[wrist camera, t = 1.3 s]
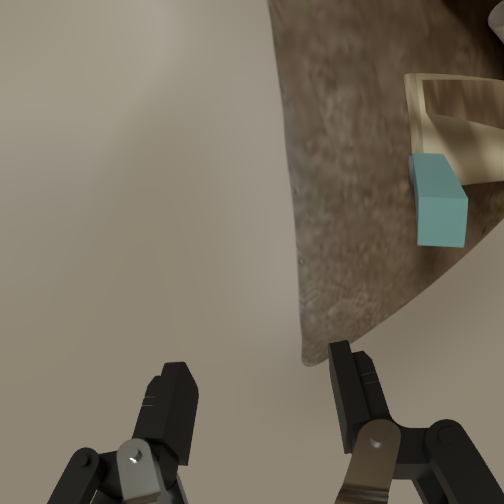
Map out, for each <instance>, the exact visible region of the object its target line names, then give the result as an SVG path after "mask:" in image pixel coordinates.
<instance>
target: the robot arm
mask: <svg viewBox="0 0 504 504" xmlns="http://www.w3.org/2000/svg"><path fill="white" fill-rule="evenodd" d="M328 350H329V368H330V377H331V383H332V388H333V393H334V398H335V403H336V409H337V413H338V419H339V424H340V430H341V436H342V441H343V447H344V453H345V454H348V453H351V454H352V457H351V461H350V464H349V467H348V470H347V473H346V476H345V479H344V482H343V485H342V487H341V489H340V491H339V493H338V496H337V498H336V501H335V503H334V504H387V503H388V497H389V496H388V493H389V489H390V485H391V481H392V479H411V480H412V482H413V484H414V486H415V488H416V490H417V492H418V494H419V496H420V498H421V500H422V502H423V504H504V493H503V492H502V490H501V488H500V486H499V484H498V483H497V481H496V479H495V478H494V476H493V474H492V473H491V471H490V470H489V468H488V466H487V465H486V463H485V461H484V460H483V458H482V457H481V455H480V453H479V452H478V450H477V449H476V447H475V446H474V444H473V443H472V441H471V439H470V438H469V436H468V435H467V433H466V432H465V430H464V429H463V427H462V426H461V425H460V424H459V423H458V422H456V421H454V420H449V419H444V420H440V421H437V422H435V423H434V424H433V425H431V426H430V428H407V427H403V426H401V425H399V424H397V423H396V422H395V421H394V420H393V419H392V417H391V415H390V413H389V410H388V406H387V403H386V400H385V397H384V394H383V391H382V388H381V385H380V382H379V379H378V376H377V373H376V370H375V367H374V364H373V361H372V359H371V358H370V357H369V356H368V355H367V354H366V353H365V352H364V351H359V352H355V353H352V352H351V349H350V345H349V342H348V340H344V341H339V342H334V343H329V344H328ZM198 398H199V393H198V387H197V385H196V382H195V380H194V379H193V377H192V375H191V373H190V371H189V369H188V367H187V365H186V363H185V362H169V363H165V364H164V366H163V370H162V373H161V376H155V377H154V378H153V380H152V381H151V382H150V384H149V385H148V387H147V390H146V393H145V398H144V400H143V403H142V407H141V409H140V413H139V416H138V419H137V423H136V426H135V430H134V433H133V436H132V439H130V440H127V441H126V442H124V443H123V444H122V445H121V446H120V447H119V449H118V450H117V451H113V452H108V453H102V454H98V453H97V452H96V451H95V450H93V449H91V448H87V447H86V448H81V449H79V450H77V451H76V452H75V453H74V454H73V456H72V457H71V459H70V461H69V463H68V465H67V467H66V469H65V470H64V472H63V474H62V476H61V478H60V480H59V482H58V484H57V485H56V487H55V489H54V491H53V493H52V495H51V497H50V499H49V501H48V503H47V504H90V502H91V500H92V498H93V496H94V494H95V492H96V490H97V492H96V494H95V496H94V498H93V501H92V503H91V504H188V501H187V498H186V495H185V492H184V489H183V486H182V483H181V480H180V477H179V475H178V473H177V470H178V465H184V466H187V465H188V460H189V454H190V448H191V441H192V435H193V428H194V422H195V416H196V410H197V404H198Z"/></svg>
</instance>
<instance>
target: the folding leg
mask: <svg viewBox="0 0 504 504" xmlns="http://www.w3.org/2000/svg"><path fill="white" fill-rule="evenodd" d="M408 166H409V184H410V185H414V195H415V207H416V222H417V245H425V246H446V247H464V242H465V233H466V222H467V210H468V198H467V196H466V194H465V192H464V190H463V188H462V186H461V184H460V182H459V180H458V179H457V177H456V175H455V173H454V171H453V170H452V168H451V166H450V164H449V163H448V161H447V159H446V157H445V156H444V154H434V153H412V154H411V155H408Z"/></svg>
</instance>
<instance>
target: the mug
mask: <svg viewBox="0 0 504 504" xmlns="http://www.w3.org/2000/svg"><path fill="white" fill-rule="evenodd" d="M488 25H489V27H490V28H491V29H492V30H493V31H494V33H495V34H496V35H497V36H498V37H499V39H500V40H501V41H502V42H503V44H504V0H503V1H502V2H500V3H499V4H498V5H496V6H495V7H494V9H493V10H492V11H491V13H490V14H489V17H488Z"/></svg>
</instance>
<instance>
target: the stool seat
mask: <svg viewBox="0 0 504 504" xmlns="http://www.w3.org/2000/svg"><path fill="white" fill-rule="evenodd" d="M403 77H404V83H405V90H406V97H407V104H408V113H409V122H410V132H411V145H412V153H434V154H444V156H445V157H446V159H447V161H448V163H449V164H450V166H451V168H452V170H453V171H454V173H455V175H456V177H457V179H458V180H459V182H460V184H461V185H469V184H477V183H486V182H495V181H504V81H502V80H495V79H488V78H480V77H470V76H459V75H445V74H423V73H413V74H403Z"/></svg>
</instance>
